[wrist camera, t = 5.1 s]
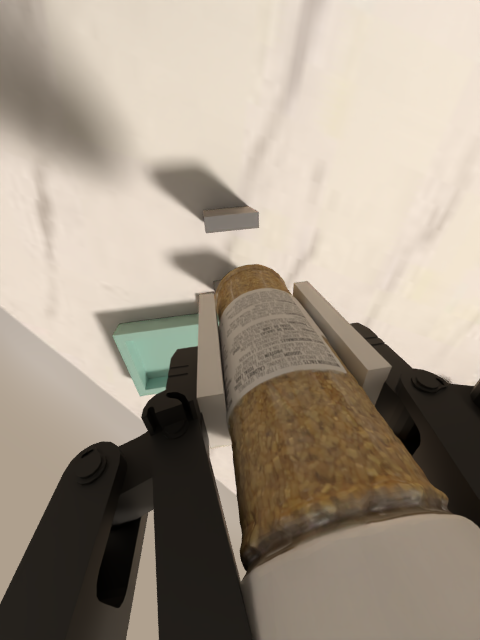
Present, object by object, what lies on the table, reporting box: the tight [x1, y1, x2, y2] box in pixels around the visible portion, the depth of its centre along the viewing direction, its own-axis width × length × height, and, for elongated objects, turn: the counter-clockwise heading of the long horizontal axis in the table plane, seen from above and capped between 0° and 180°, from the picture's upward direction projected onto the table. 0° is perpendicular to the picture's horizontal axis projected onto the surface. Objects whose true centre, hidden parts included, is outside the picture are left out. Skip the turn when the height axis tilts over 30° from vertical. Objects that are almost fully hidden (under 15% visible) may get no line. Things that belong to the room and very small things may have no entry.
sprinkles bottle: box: [215, 264, 480, 640], centre depth 8 cm, size 5×5×14 cm
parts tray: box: [113, 313, 219, 396], centre depth 29 cm, size 10×14×2 cm
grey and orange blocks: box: [203, 206, 259, 299], centre depth 23 cm, size 11×8×5 cm
